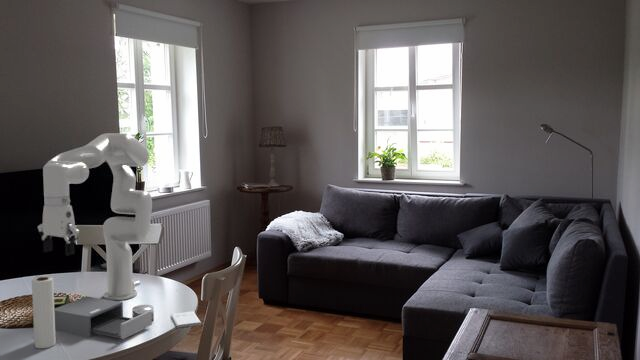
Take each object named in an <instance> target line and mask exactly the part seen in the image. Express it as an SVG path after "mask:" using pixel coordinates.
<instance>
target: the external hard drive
mask: <svg viewBox="0 0 640 360" xmlns="http://www.w3.org/2000/svg"><path fill="white" fill-rule="evenodd" d="M171 316H172V317H171ZM170 317H171V319H172V318H173V319H172V321H173V320H174V321H173V323H174V322H175V323H174V325H175V324H176V325H175V327H176V326H177V327H176V328H177V329H179V328H186V327H194V326H201V325H202V322H201V320H200V319H199V318H198V316H197V314H196V313H195V311H193V310H192V311H185V312H176V313H171V314H170Z"/></svg>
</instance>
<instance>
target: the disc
mask: <svg viewBox="0 0 640 360" xmlns="http://www.w3.org/2000/svg"><path fill="white" fill-rule="evenodd" d="M131 311H132V312H131V313H132V314H133V315H134V316H138V315H141V314H143V313H145V312H147V311H152V314H153V312H154V311H155V310H154V306H153V305H150V304H139V305H136V306H133V307H132V309H131ZM154 313H155V312H154Z"/></svg>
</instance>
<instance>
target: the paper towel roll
mask: <svg viewBox="0 0 640 360" xmlns="http://www.w3.org/2000/svg"><path fill="white" fill-rule="evenodd" d="M31 290H32V291H31V292H32V293H31V294H32V314H33V315H32V316H33V317H32V318H33V338H34V347H35V348H36V349H49V348H51V347H53V346H56V344H57V342H56V341H57V340H56V331H55V312H54V309H55V293H54V292H55V290H54V277H53V276H45V275H44V276H43V275H42V276H40V275H39V276H38V275H35V277H34V278H32V279H31Z"/></svg>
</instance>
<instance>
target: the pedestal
mask: <svg viewBox="0 0 640 360" xmlns="http://www.w3.org/2000/svg"><path fill="white" fill-rule="evenodd" d="M154 313H155V312H153V314H152V323H154V322H155V317H154V316H155V314H154ZM131 316H132V317H131V318H134V317H136V316H134V315H133V314H132V315H131ZM153 321H154V322H153Z"/></svg>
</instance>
